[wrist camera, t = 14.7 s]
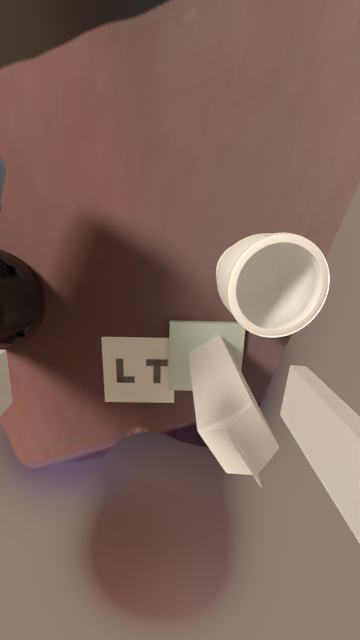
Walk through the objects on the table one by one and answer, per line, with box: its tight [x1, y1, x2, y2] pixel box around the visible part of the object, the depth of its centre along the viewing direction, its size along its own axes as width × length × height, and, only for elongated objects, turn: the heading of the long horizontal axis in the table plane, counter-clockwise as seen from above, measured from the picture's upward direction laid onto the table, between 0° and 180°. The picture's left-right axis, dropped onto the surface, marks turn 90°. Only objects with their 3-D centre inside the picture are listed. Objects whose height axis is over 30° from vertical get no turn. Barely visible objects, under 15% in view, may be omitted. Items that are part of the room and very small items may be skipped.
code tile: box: [101, 337, 174, 403], centre depth 46 cm, size 12×12×1 cm
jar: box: [216, 233, 330, 338], centre depth 34 cm, size 11×10×15 cm
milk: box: [188, 335, 279, 487], centre depth 34 cm, size 6×6×22 cm
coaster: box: [169, 320, 245, 391], centre depth 45 cm, size 12×12×1 cm
